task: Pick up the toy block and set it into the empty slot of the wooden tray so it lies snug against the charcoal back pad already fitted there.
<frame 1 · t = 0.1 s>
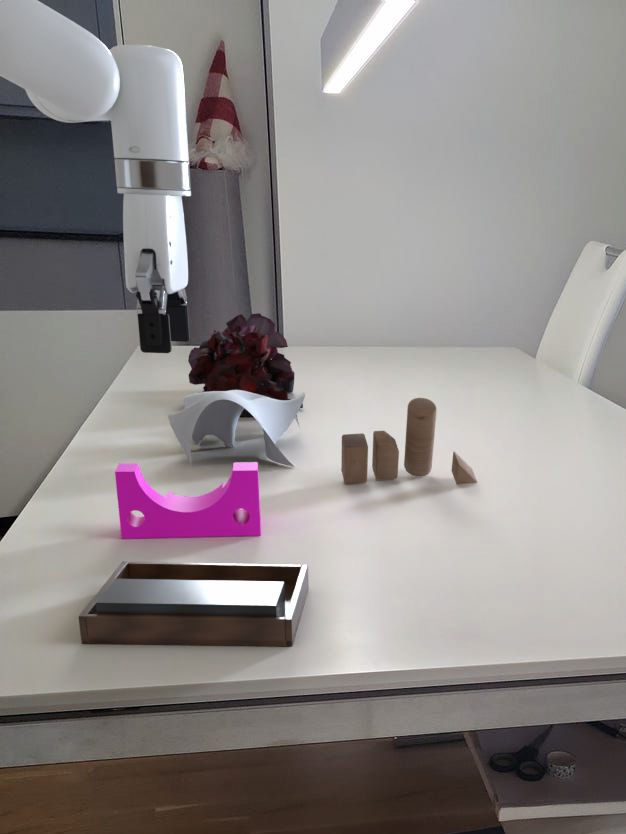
hand: (166, 346, 116), 19 cm above the table, tool pointing down, fingers open, 9 cm apart
toy block: (193, 530, 118), on the table
wooden block set: (406, 480, 142), on the table
flower arrangement: (246, 402, 190), on the table
wooden tray: (203, 614, 94), on the table
sculpture: (242, 448, 156), on the table
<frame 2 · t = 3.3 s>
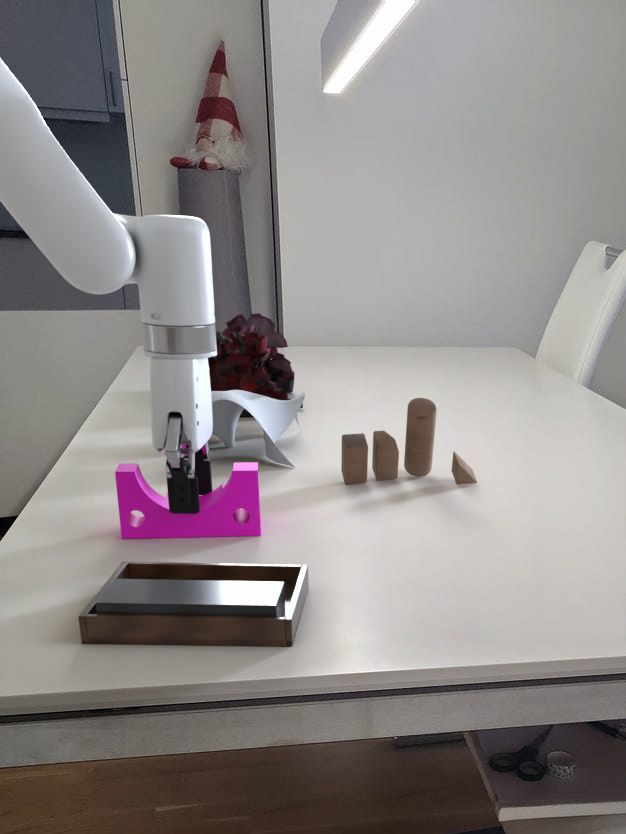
hand: (191, 502, 117), 3 cm above the table, tool pointing down, fingers closed on toy block, 6 cm apart
toy block: (193, 530, 118), on the table, touching gripper
everything else where it was.
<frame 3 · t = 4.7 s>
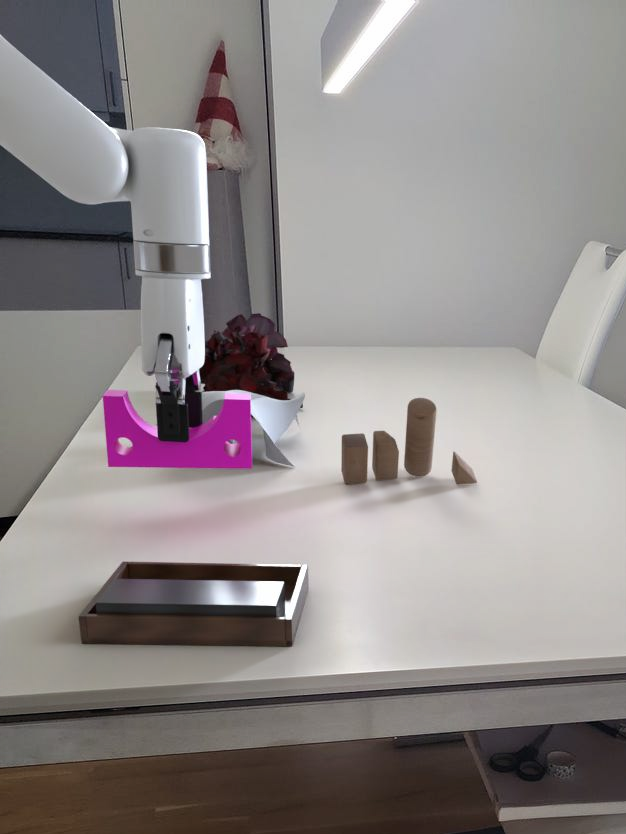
hand: (181, 432, 113), 11 cm above the table, tool pointing down, fingers closed on toy block, 6 cm apart
toy block: (182, 462, 115), point 8 cm above the table, touching gripper
everything else where it was.
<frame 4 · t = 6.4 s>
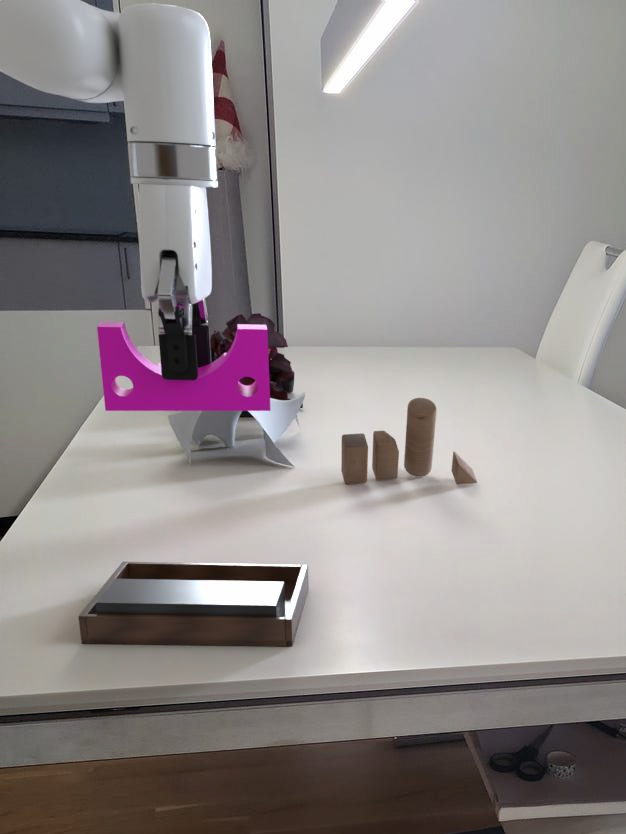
hand: (187, 371, 99), 20 cm above the table, tool pointing down, fingers closed on toy block, 6 cm apart
toy block: (190, 406, 100), point 16 cm above the table, touching gripper
everything else where it was.
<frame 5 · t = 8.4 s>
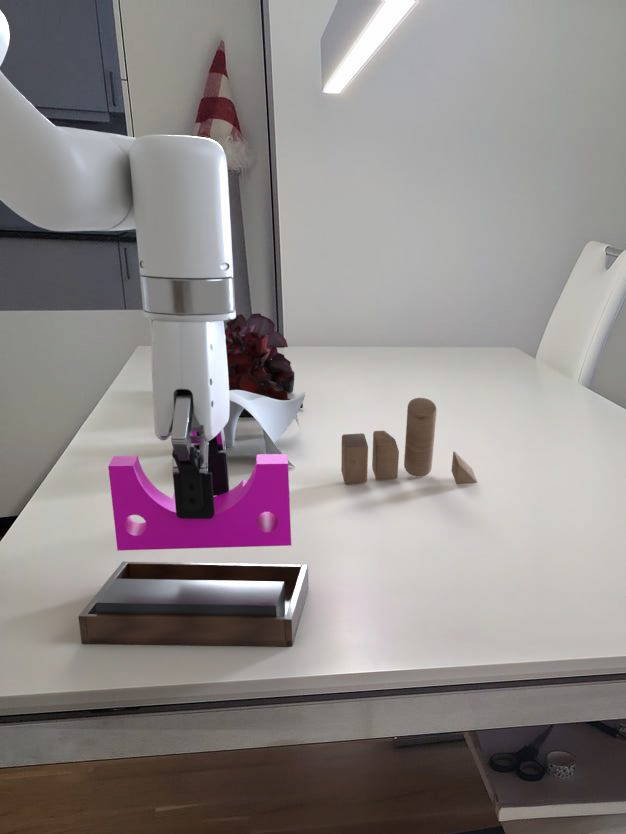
hand: (204, 504, 93), 10 cm above the table, tool pointing down, fingers closed on toy block, 6 cm apart
toy block: (207, 539, 95), point 6 cm above the table, touching gripper
everything else where it was.
when the fingers open (6 cm above the table, at t = 9.8 s): toy block drops 2 cm, resting on wooden tray.
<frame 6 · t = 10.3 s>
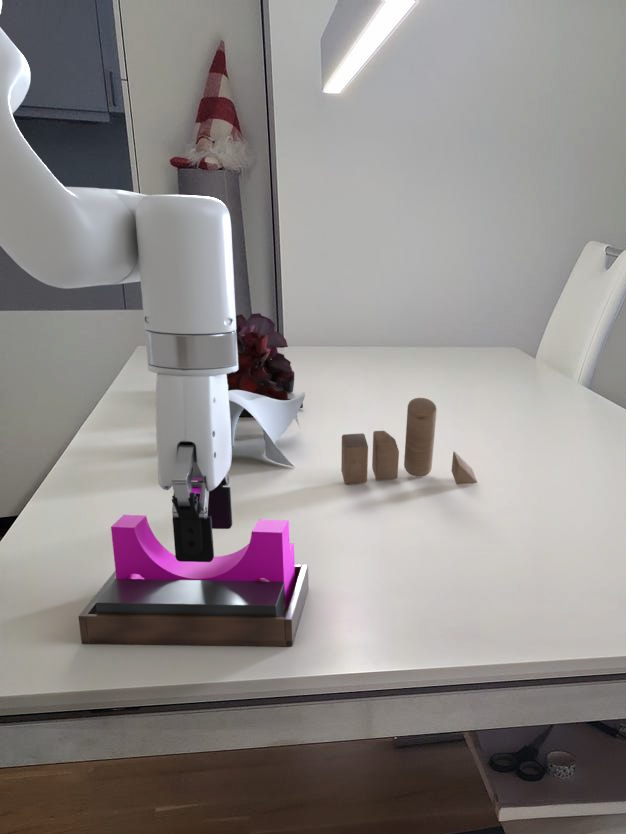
hand: (205, 543, 95), 6 cm above the table, tool pointing down, fingers open, 9 cm apart
toy block: (210, 598, 97), resting on wooden tray
everything else where it was.
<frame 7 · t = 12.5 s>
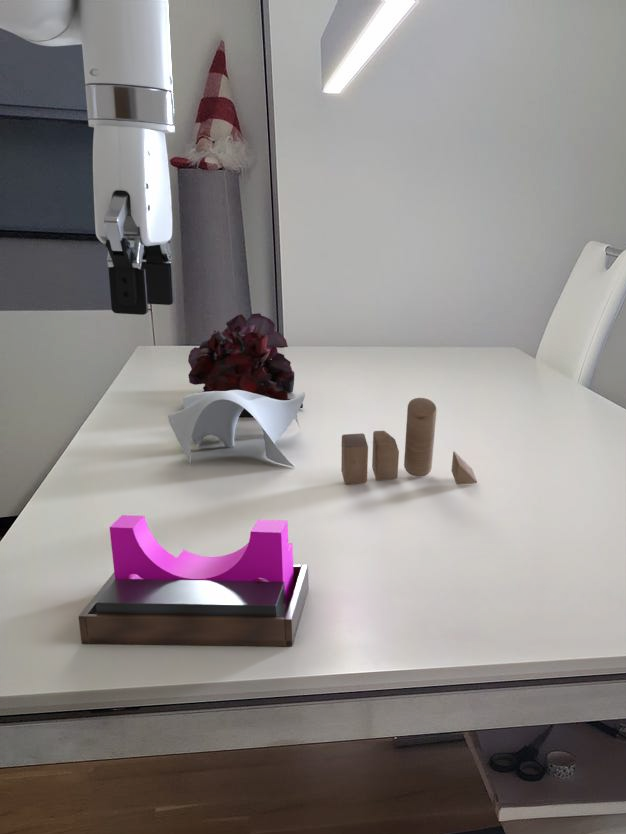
hand: (144, 308, 101), 25 cm above the table, tool pointing down, fingers open, 9 cm apart
nothing on the table moved.
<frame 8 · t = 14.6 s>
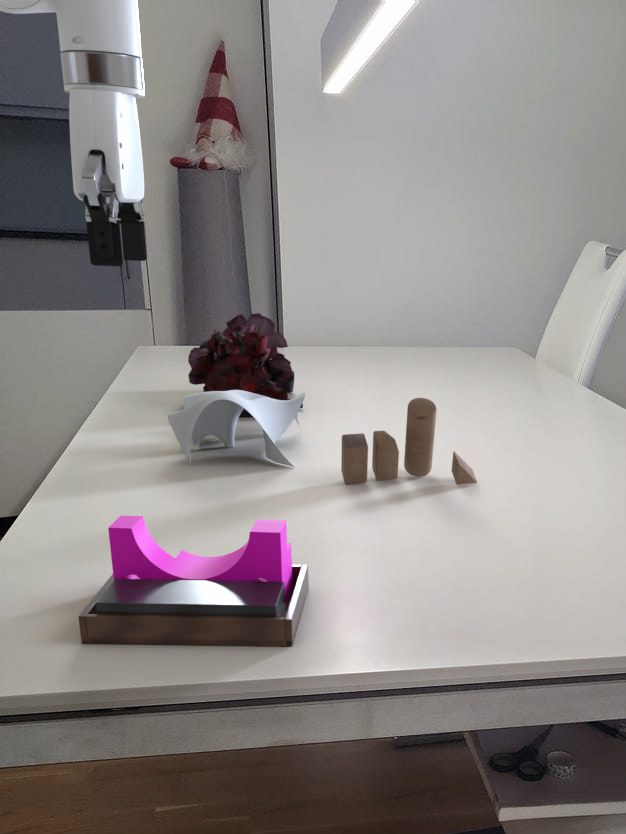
hand: (120, 262, 108), 28 cm above the table, tool pointing down, fingers open, 9 cm apart
nothing on the table moved.
at the end: toy block 0.2 cm from the target spot on the wooden tray, point 0.4 cm above the wooden tray's base; toy block tilted 0°; the gripper is holding nothing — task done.
